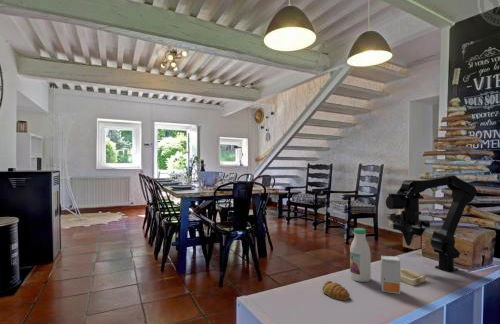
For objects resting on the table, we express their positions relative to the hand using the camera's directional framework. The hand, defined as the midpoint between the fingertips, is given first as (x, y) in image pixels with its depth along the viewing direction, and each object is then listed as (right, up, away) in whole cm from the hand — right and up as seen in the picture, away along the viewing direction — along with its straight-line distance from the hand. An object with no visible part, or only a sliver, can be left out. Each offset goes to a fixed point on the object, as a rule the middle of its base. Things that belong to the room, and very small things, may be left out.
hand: (411, 244), depth 122 cm
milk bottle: (-26, -11, -10) cm, 30 cm away
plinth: (-7, -11, -10) cm, 17 cm away
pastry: (-41, -11, -23) cm, 48 cm away
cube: (0, -1, 0) cm, 1 cm away
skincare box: (-20, -11, -21) cm, 31 cm away
